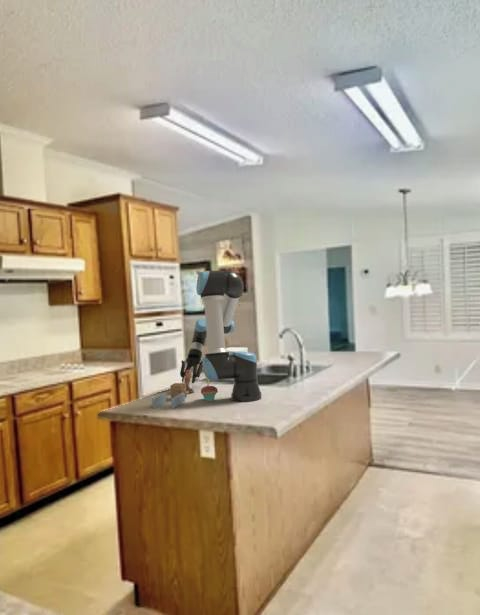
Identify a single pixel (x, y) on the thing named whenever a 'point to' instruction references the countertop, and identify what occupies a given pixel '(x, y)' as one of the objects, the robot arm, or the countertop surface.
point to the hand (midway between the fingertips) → (186, 387)
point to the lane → (163, 398)
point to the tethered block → (182, 386)
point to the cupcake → (209, 392)
